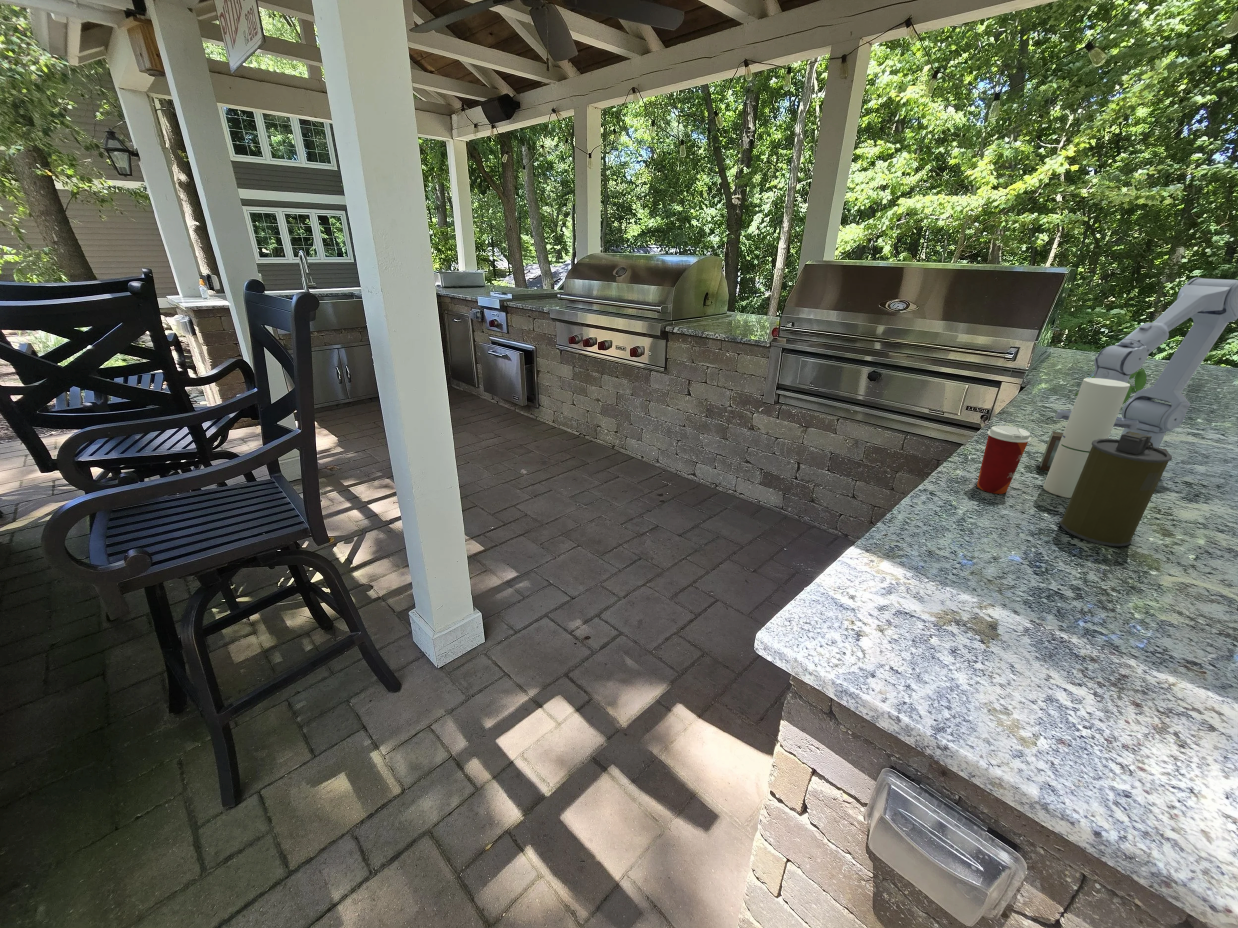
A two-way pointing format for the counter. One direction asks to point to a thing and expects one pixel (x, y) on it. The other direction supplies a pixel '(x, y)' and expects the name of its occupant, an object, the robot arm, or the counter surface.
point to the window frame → (1054, 450)
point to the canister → (1114, 489)
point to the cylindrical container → (1084, 431)
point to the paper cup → (1001, 458)
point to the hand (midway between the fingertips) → (1082, 451)
